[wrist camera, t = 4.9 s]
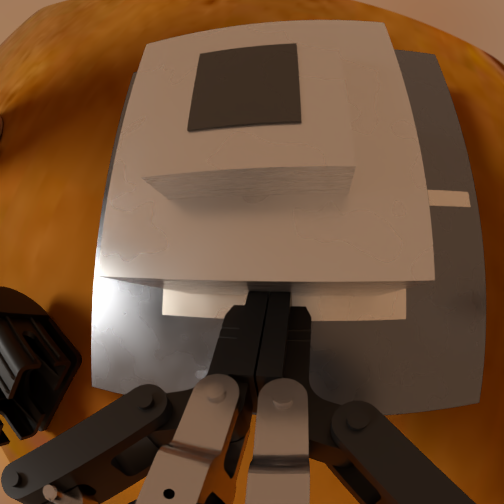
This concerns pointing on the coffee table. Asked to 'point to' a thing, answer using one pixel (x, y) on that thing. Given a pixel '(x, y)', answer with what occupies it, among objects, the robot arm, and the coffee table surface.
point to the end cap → (31, 365)
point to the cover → (270, 166)
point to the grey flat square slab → (334, 299)
